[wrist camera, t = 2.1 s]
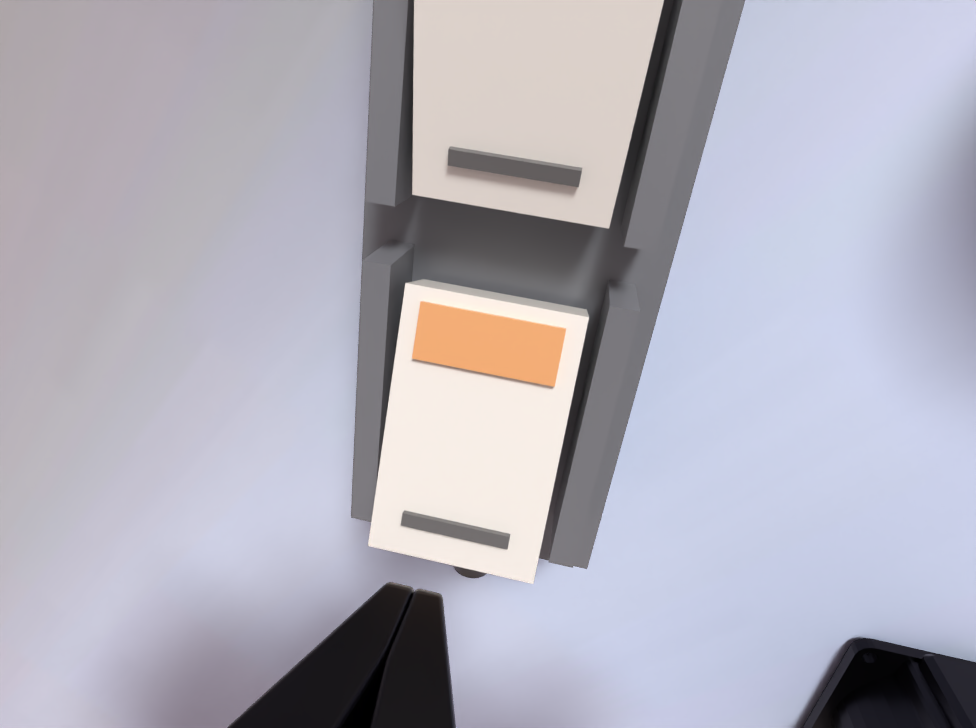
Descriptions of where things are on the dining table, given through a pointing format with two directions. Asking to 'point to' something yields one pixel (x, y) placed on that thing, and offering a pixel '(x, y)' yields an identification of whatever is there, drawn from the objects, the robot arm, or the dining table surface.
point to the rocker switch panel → (540, 253)
